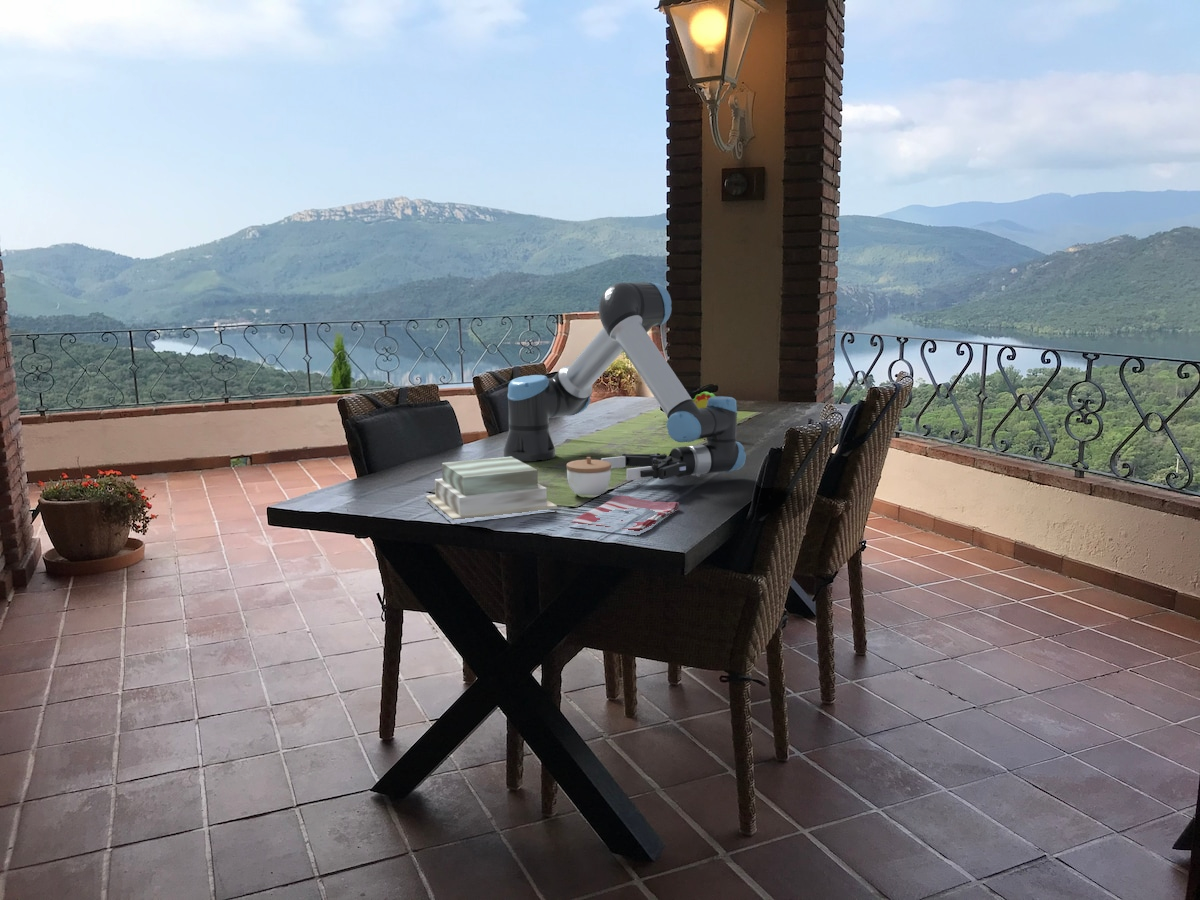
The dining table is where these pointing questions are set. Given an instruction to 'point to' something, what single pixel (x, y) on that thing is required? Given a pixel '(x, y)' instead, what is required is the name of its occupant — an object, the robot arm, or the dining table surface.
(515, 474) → the brick tower
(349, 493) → the dining table surface
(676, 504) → the dish towel
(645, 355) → the robot arm
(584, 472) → the lidded jar
